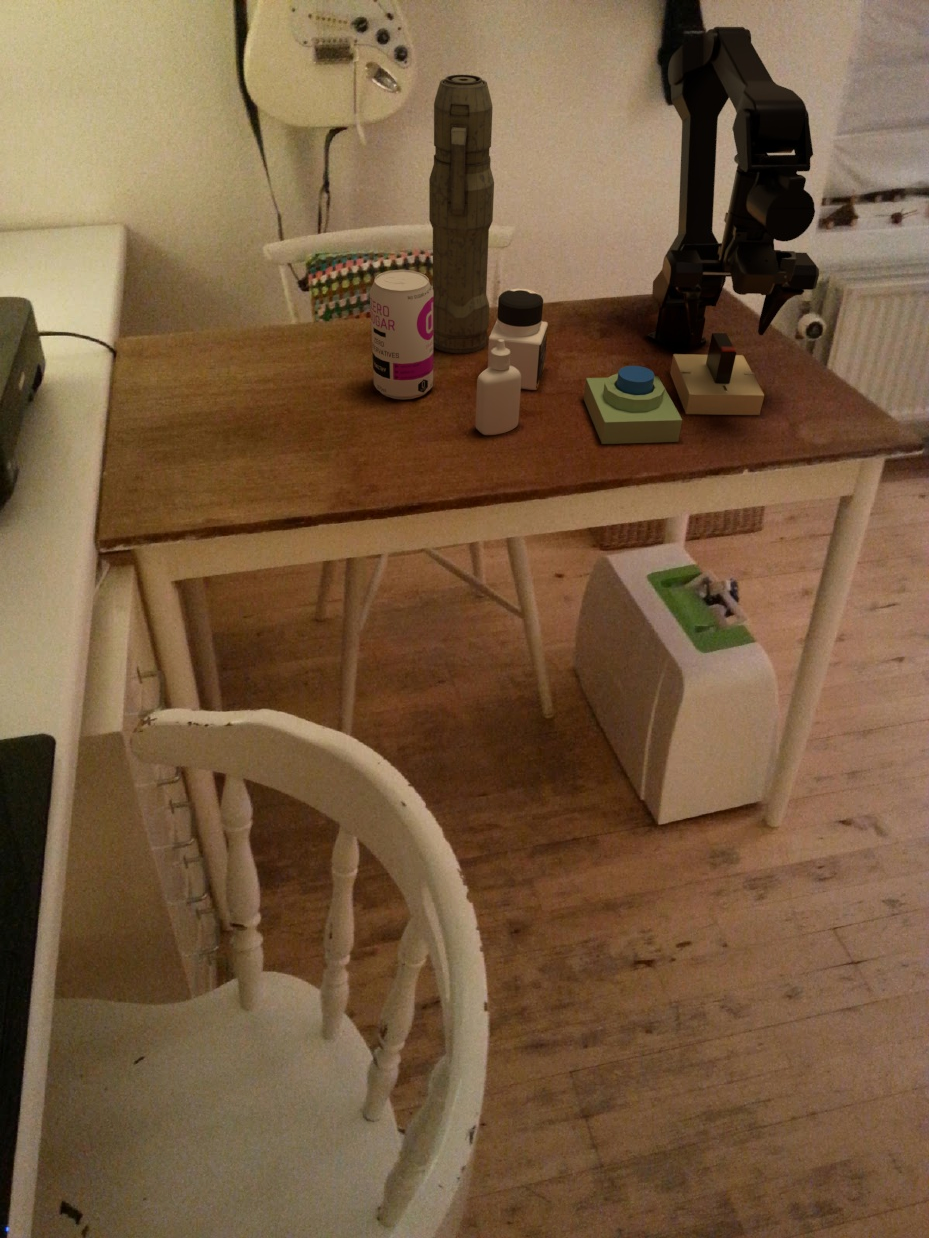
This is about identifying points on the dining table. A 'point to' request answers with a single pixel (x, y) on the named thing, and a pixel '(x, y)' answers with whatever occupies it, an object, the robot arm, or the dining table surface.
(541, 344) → the medicine bottle
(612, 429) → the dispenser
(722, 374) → the dial
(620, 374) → the cylinder
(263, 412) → the dining table surface
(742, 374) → the console
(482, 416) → the eye dropper bottle
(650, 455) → the dining table surface
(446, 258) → the thermos
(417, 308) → the supplement can
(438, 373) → the dining table surface
